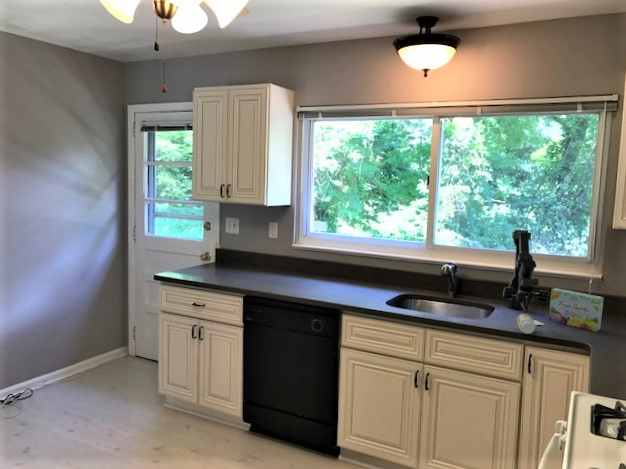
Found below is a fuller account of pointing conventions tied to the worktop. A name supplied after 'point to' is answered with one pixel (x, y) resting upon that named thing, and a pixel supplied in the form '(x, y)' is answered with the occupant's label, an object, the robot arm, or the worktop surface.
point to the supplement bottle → (525, 323)
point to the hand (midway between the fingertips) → (526, 310)
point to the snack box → (576, 309)
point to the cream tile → (538, 323)
